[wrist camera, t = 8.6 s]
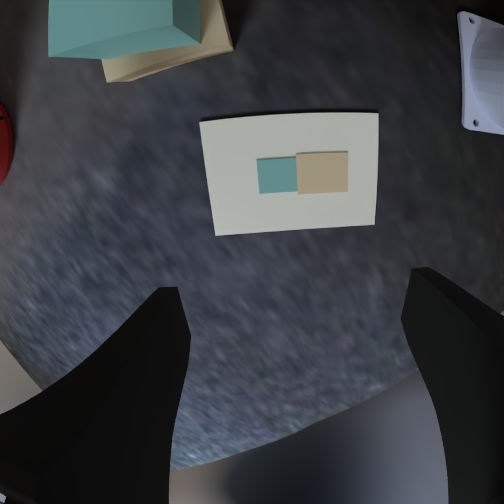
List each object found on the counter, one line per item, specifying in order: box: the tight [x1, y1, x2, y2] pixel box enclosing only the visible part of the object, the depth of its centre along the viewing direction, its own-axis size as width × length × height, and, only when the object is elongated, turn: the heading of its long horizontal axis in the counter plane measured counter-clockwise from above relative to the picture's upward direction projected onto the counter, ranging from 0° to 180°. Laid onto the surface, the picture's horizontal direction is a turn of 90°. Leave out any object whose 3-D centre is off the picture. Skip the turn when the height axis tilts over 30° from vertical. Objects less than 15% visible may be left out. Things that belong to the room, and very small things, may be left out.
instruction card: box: [199, 112, 378, 236], centre depth 18 cm, size 10×7×1 cm
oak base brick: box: [101, 0, 234, 82], centre depth 12 cm, size 6×6×4 cm
